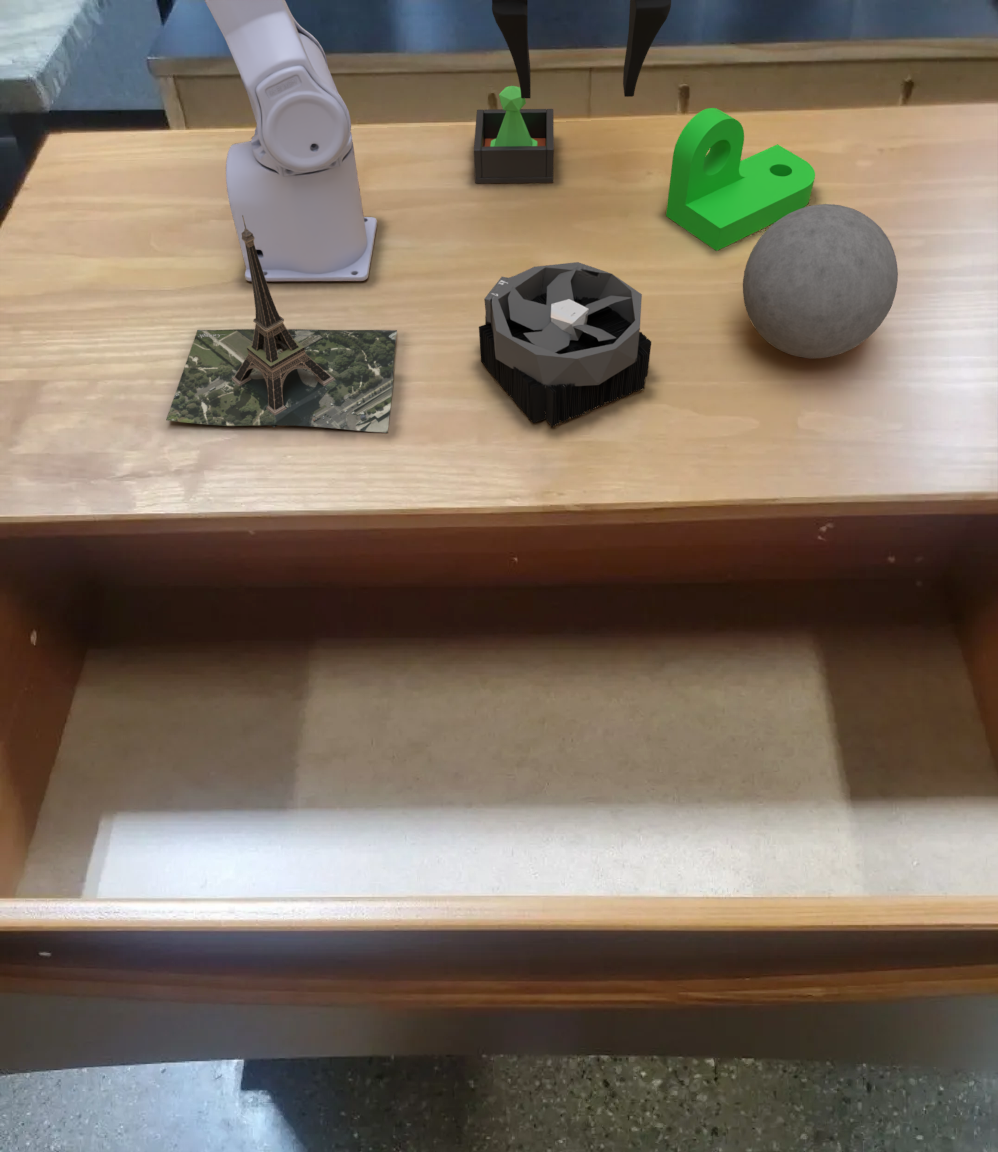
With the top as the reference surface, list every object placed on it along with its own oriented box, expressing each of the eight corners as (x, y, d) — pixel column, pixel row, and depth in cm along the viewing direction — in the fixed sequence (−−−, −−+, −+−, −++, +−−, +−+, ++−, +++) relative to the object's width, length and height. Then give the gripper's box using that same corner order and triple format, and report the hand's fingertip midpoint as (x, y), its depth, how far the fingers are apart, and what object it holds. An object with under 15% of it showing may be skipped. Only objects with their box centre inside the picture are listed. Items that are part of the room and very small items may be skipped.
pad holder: (475, 183, 87) (473, 150, 84) (478, 142, 91) (476, 109, 88) (553, 183, 86) (553, 149, 84) (552, 141, 90) (553, 108, 88)
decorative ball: (757, 397, 70) (787, 273, 62) (714, 307, 76) (736, 183, 68) (897, 378, 70) (944, 253, 62) (844, 290, 76) (880, 166, 69)
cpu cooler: (674, 322, 66) (539, 376, 63) (665, 389, 70) (539, 443, 67) (588, 241, 71) (460, 288, 68) (585, 308, 76) (465, 354, 73)
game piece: (545, 162, 87) (546, 93, 82) (497, 172, 86) (495, 102, 81) (529, 137, 89) (529, 68, 85) (482, 147, 89) (479, 78, 84)
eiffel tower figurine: (401, 335, 75) (380, 164, 64) (387, 432, 68) (361, 262, 58) (198, 334, 75) (144, 165, 65) (166, 431, 69) (100, 261, 58)
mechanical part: (716, 251, 80) (732, 155, 74) (665, 216, 83) (677, 121, 77) (825, 198, 84) (849, 103, 78) (773, 166, 87) (792, 72, 81)
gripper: (690, -142, 68) (669, 63, 79) (474, -137, 69) (482, 67, 79) (701, -101, 64) (677, 110, 75) (470, -96, 64) (479, 113, 75)
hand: (577, 91), depth 77 cm, fingers open, 7 cm apart
